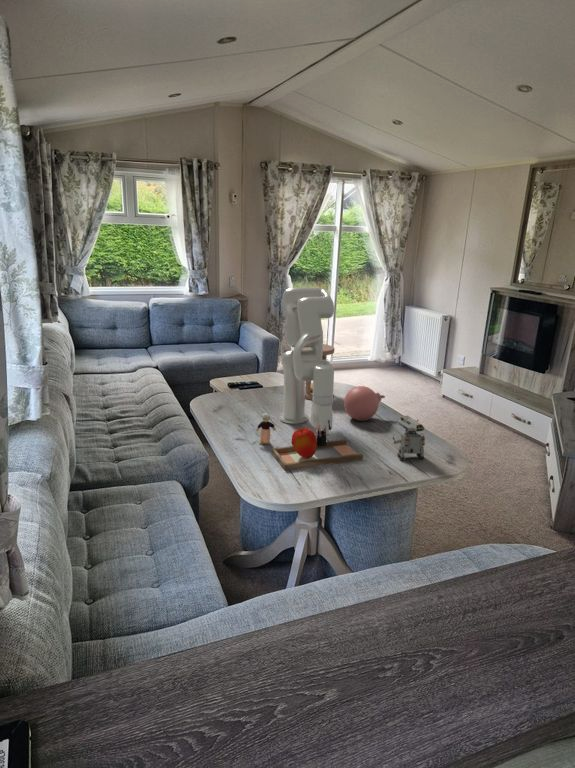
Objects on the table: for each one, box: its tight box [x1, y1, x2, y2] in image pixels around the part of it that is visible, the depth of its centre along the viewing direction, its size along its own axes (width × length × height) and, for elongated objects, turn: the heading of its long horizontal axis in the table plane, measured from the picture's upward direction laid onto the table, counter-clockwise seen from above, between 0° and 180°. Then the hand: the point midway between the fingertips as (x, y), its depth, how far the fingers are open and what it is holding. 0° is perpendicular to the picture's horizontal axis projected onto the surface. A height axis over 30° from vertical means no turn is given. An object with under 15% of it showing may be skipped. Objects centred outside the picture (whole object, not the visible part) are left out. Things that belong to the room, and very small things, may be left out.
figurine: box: [392, 415, 426, 461], centre depth 200 cm, size 9×12×15 cm
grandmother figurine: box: [255, 412, 276, 445], centre depth 210 cm, size 8×4×13 cm, turn 105°
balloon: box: [343, 385, 386, 421], centre depth 238 cm, size 15×20×15 cm
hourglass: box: [302, 343, 336, 401], centre depth 269 cm, size 18×18×25 cm
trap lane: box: [271, 438, 364, 472], centre depth 200 cm, size 15×31×2 cm, turn 110°
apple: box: [290, 427, 317, 458], centre depth 197 cm, size 9×9×12 cm
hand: (321, 445), depth 199 cm, fingers closed
